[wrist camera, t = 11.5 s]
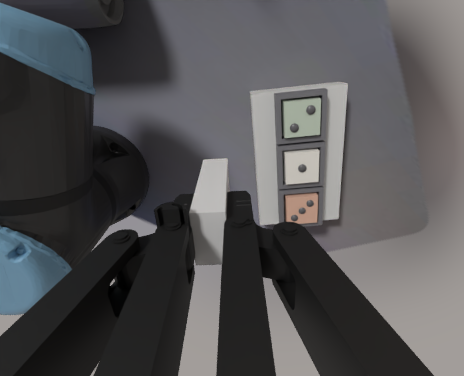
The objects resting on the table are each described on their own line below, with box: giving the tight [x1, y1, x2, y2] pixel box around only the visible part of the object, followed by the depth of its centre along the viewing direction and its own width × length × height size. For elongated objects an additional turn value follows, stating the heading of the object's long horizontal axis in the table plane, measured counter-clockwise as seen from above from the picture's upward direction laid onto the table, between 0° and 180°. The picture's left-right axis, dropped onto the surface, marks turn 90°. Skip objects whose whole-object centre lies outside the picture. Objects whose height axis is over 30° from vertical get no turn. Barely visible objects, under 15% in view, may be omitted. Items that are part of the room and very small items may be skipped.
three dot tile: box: [284, 192, 318, 224], centre depth 40 cm, size 4×4×2 cm
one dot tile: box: [283, 147, 319, 185], centre depth 38 cm, size 4×4×2 cm
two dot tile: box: [282, 96, 321, 138], centre depth 35 cm, size 4×4×2 cm
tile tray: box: [250, 82, 348, 227], centre depth 39 cm, size 12×20×5 cm, turn 6°
